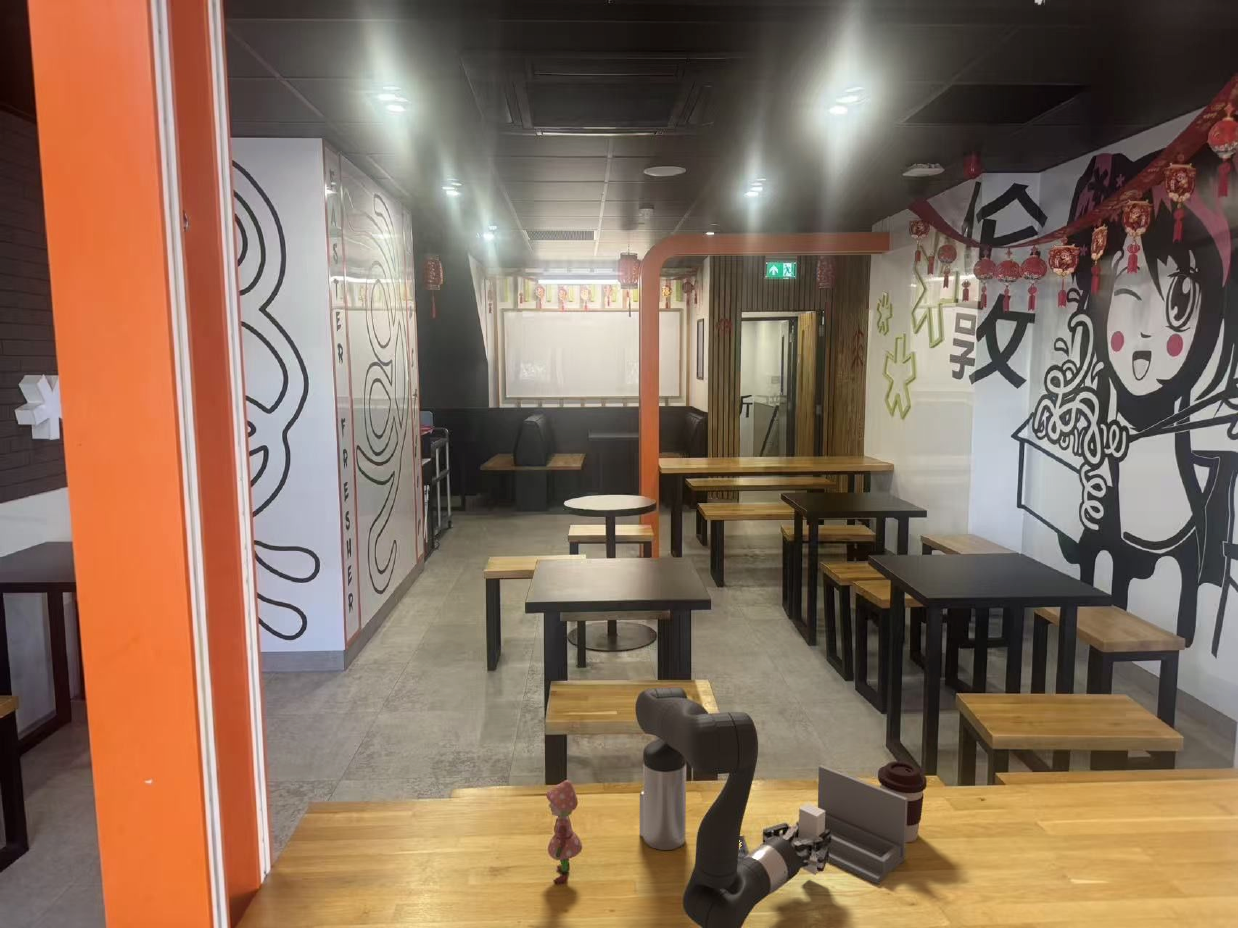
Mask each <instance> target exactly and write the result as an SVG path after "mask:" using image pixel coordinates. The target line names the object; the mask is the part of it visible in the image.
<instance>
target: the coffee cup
mask: <svg viewBox="0 0 1238 928" xmlns="http://www.w3.org/2000/svg"><path fill="white" fill-rule="evenodd" d="M877 780H878V782H879V783H880V788H882V789H885V790H888V791H890V792H893V793H895V794H898V795H901V796H903V797H906V798H908V801H907V827H906V843H912V842H914V841H915V840H917V838H918V835H919V829H920V822H921V821H922V820H921V819H922V812H923V804H924V790H926V788H927V782H928V781H927V777H926V776H925V774H924V773H922V772H921V771H920V769H919V768H918V767H916V766H915V765H914V764H912V763H909V762H905V761H891V762H888V763H887V764H885V765H884V766H882V767H880V768H879V769H878V771H877Z"/></svg>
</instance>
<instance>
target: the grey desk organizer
mask: <svg viewBox="0 0 1238 928" xmlns="http://www.w3.org/2000/svg"><path fill="white" fill-rule="evenodd" d="M817 785H818V786H817V787H818V789H817V790H818V792H817V807H818V808H820V809H822V810H825V830H827V829H828V830H830V831H831V834H832V836H831V843H829V857H828V860H827V862H829V863H831V864H834V865H836V866H837V867H840V868H842V869H844V870H845V871H848V872H850V873H852V874H854V875H856V876H858V877H860V878H863V879H865V880H867V881H869V882H870V883H872V884H875V885H876V886H878V885H879V884H880V883H881V882H883V880H884V879H886V878H887V877H888V876H889V875H890V874H891V873H892V872H894V870H895V869H897V868H898V866H900V865H901V864H902V863H903V862H904V861H905V860H906V853H907V852H906V850H907V846H906V845H907V842H906V827H907V801H908V798H906V797H903V796H901V795H898V794H895V793H893V792H890V791H888V790H885V789H882V788H880V787H879V786H876V785H874V784H872V783H870V782H866V781H864V780H861V779H859V778H856V777H855V776H851V775H849V774H846V773H844V772H841V771H838V770H836V769H833V768H831V767H828V766H825V765H822V764H820V765H819V766H818V784H817ZM795 824H796V826H797V825H798V824H799V820H798V821H796V823H795Z"/></svg>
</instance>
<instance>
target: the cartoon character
mask: <svg viewBox="0 0 1238 928" xmlns="http://www.w3.org/2000/svg"><path fill="white" fill-rule="evenodd" d="M546 799H547V801H549V804H548V807H549V808H550V810H551V814H552V815H553V816H557V817H556V818H555V823H554V825H553V832H554V834H553V836H552V837H551V838H550V841H549V843H548V847H547V853H548V854H549V857H551V858H552V859H553V860H555V861H559V862H560V864H559V865H556V868H557V870H559V871H561V874H560V875H559V876H558V877H556V878H555V879H552V880H553V883H554V884H560V883H562V884H565V883H567V881H568V879H569V878H568V873H569V872H570V868H571V867H570V859H572V858H574V857H576V856H577V855H579V854H580V853H581V852H582V849H583V844H582V840H581V839H580V837H579V836H578V834H577V833H575V831H573V828H572V822H571V819H570V818H571V817H570V815H572V813H573V811H575V810H577V809H576V808H577V806H578V803H579V802H578V796H577V793H576V790H575V788H574V786H573V783H572V782H571V781H570V780H568V779H565V780H563V781H562V782H560V783H558V784H556V786H554V787H553V788H551V789H548V791H546Z"/></svg>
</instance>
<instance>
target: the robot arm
mask: <svg viewBox="0 0 1238 928" xmlns="http://www.w3.org/2000/svg"><path fill="white" fill-rule="evenodd" d="M634 708H635V711H634V712H635V717H636V720H637V723H638V726H639V727H640V729H641V731H642V732H643V733H645V734H647V735H652V736H655V737H657V739H655V740H653V741H650V742H649V743H648V744H646V746H645V747H644V748H643V751H642V752H643V753H642V791H641V792H639V836H641V837H642V839H643V841H644V843H645V844H646V845H647V846H649V847H650V848H652V849H656V850H660V851H661V850H662V851H672V850H675V849H677V848H680V847H682V846H683V845H684V843H685V842H686V832H687V831H686V830H687V829H686V828H687V825H686V824H687V823H686V821H687V820H686V819H687V814H686V813H687V763H688V765H689V767H691V769H693V770H694V772H696V773H698V774H700V775H705V776H712V775H714V776H716V775H723V774H724V775H725V774H728V776H727V779H726V782H725V784H724V786H723V788H722V789H721V791H720V793H719V794H718V796H717V798H716V799H715V800H714V802H712V805H711V806H710V807H709V809H708V810H707V812H706V813H705V815H704V816H703V818H702V820H701V822H700V824H699V827H698V829H697V835H696V845H695V846H696V847H695V856H694V857H695V859H694V863H695V864H694V866H693V870H692V872H691V875H690V877H689V881H688V883H687V885H686V888H685V889H684V893H683V896H682V906H683V910H684V912H685V914H686V916H687V917H688V918H689V919H690V920H691V921H692V922H694V923H695V924H696V925H698V926H700V928H742V927H743V925H744V923H745V921H746V920H747V918H748V916H749V915H750V913H751V912H752V910H753V909H754V908H755V906H756V905H758V904H759V903H760V902H762V900H764V899H765V898H767V896H769V895H772V894H773V893H775V892H777V891H778V890H779V889H780V888H781V887H783V886H784V885H786V884H787V883H788V882H789V881H791V880H792V879H793V878H794V877H796V875H797V874H798V873H799V872H800V870H801V869H802V867H806V866H808V865H809V864H810V865H814V866H817V870H818V871H819V873H821V872H824V870H825V867H826V865H827V862H828V861H827V860H828V857H829V843H831V836H832V834H831V831H830V830H828V829H827V830H825V831H824V832H823V833H822V834H820V835H819V836H818V837H816V838H814V839H811V838H807V839H805V840H802V841H801V840H799V839H798V832H799V824H798V825H797V826H796V825H794V824H793V825H791V826H789V825H790V824H789V823H787V822H782V823H780V824H776V825H773V826H769V827H765V828H763V829H762V844H759V846H757V847H755V848H754V849H753V850H751V851H750V852H749V854H748V855H747V856H746V857H745V858H744V859H742V860H741V861H740V862H738V851H739V839H740V835H741V829H742V825H743V819H744V817H745V813H746V809H747V805H748V802H749V798H750V793H751V789H752V785H753V780H754V776H755V773H756V767H757V763H758V756H759V738H758V737H759V735H758V731H757V728H756V726H755V725H756V724H755V723H754V721H753V719H752V718H751V715H749V714H748V713H746V712H744V711H743V712H741V711H729V712H728V711H726V712H715V713H714V712H712V713H709V712H708V710H707V709H706V708H705V707H704V706H703V705H701V704H700V703H698V702H697V701H694V700H691V699H689V698H688V695H687V693H686V691H685V690H684V689H683V688H682V687H679V686H677V687H676V686H673V687H657V688H648V689H645V690H643V691H641V692H640V693H639V695H638V696H637V699H636V701H635V707H634ZM781 831H782V832H781ZM815 845H816V847H815ZM815 854H816V855H815Z"/></svg>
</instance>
